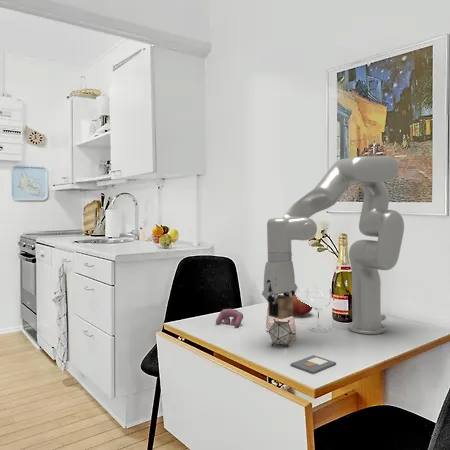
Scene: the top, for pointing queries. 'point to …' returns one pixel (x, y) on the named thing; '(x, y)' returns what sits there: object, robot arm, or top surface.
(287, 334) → the game die
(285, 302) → the walnut block
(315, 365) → the card
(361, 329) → the robot arm
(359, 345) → the top surface
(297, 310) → the fruit
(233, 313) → the video game controller
